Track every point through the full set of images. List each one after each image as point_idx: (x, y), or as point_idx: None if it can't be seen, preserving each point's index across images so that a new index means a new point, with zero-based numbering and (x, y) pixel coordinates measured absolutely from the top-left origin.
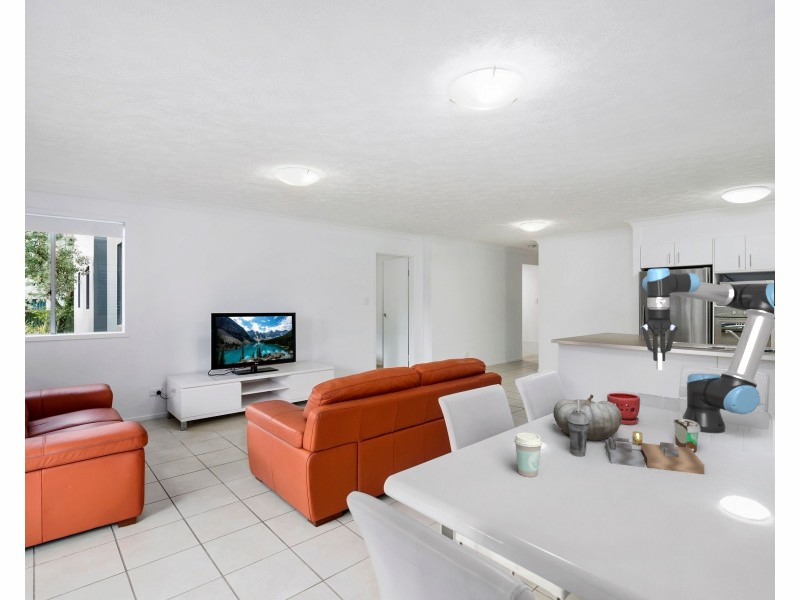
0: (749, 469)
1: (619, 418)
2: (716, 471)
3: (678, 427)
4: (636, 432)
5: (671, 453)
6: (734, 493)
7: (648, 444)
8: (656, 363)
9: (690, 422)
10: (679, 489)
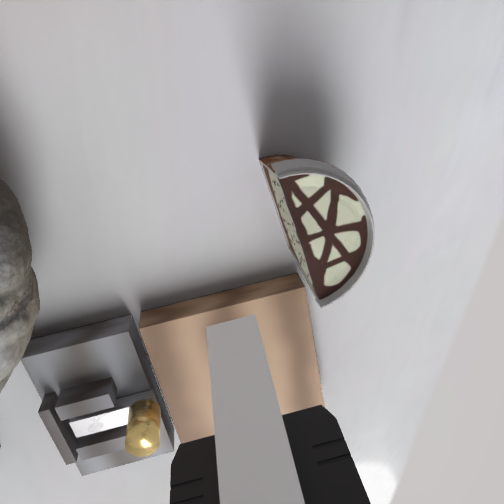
0: (439, 291)
1: (23, 291)
2: (350, 355)
3: (286, 211)
4: (138, 443)
5: None
6: (359, 456)
7: (173, 328)
8: (214, 388)
9: (345, 190)
10: None
